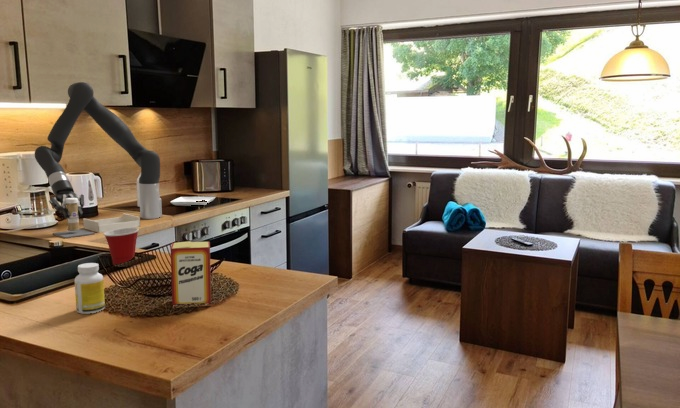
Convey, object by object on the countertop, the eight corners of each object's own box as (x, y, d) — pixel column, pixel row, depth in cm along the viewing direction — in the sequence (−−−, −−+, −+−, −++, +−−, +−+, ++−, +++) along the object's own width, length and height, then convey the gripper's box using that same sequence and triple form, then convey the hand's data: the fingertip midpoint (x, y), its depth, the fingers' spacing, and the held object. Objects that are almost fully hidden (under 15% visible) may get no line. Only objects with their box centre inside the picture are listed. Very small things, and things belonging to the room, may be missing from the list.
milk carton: (149, 207, 295) (147, 173, 292) (137, 207, 296) (136, 173, 293) (155, 205, 302) (154, 172, 299) (144, 205, 303) (143, 172, 300)
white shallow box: (124, 222, 249) (124, 213, 248) (140, 226, 240) (139, 216, 239) (83, 228, 234) (83, 218, 234) (98, 232, 225) (98, 222, 225)
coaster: (82, 230, 230) (81, 229, 230) (94, 234, 222) (94, 232, 222) (52, 234, 221) (52, 232, 221) (65, 238, 213) (65, 237, 213)
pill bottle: (109, 310, 132) (107, 265, 131) (83, 317, 128) (80, 270, 126) (98, 304, 137) (95, 260, 135) (72, 310, 132) (69, 265, 130)
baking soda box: (211, 298, 143) (209, 240, 140) (211, 306, 136) (209, 245, 134) (174, 300, 140) (172, 241, 138) (172, 308, 134) (170, 247, 132)
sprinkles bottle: (72, 231, 218) (70, 199, 216) (65, 230, 221) (63, 198, 218) (82, 229, 222) (80, 198, 220) (75, 228, 224) (73, 197, 222)
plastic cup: (111, 262, 178) (109, 226, 177) (144, 261, 179) (142, 226, 178) (99, 270, 168) (97, 233, 166) (135, 270, 169) (133, 233, 167)
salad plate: (169, 207, 300) (169, 201, 300) (181, 201, 321) (180, 196, 321) (206, 207, 300) (206, 201, 300) (215, 202, 321) (215, 196, 321)
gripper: (44, 180, 218) (59, 212, 212) (80, 178, 228) (94, 209, 223) (40, 191, 222) (54, 224, 216) (75, 189, 233) (89, 219, 227)
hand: (74, 216), depth 219 cm, fingers closed on sprinkles bottle, 4 cm apart
